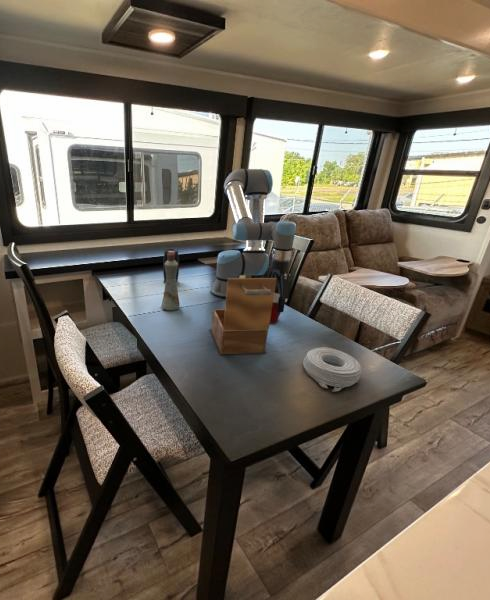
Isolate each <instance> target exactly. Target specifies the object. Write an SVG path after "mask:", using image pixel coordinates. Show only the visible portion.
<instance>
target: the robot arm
mask: <svg viewBox="0 0 490 600" xmlns="http://www.w3.org/2000/svg"><path fill="white" fill-rule="evenodd" d="M273 186H274V179H273V175H272V173H271V171H270V170H268V169H263V168H237V169H235V170H233V171H232V172H230V173H229V174H228V176H227V177H226V178H225V180H224V184H223V190H224V195H225V196H226V197H227V198H228V201H229V205H230V208H231V212H232V215H233V219H234V224H233V226H232V238H233V240H235V241H242V242H243V241H245V247H244V248H243V249H242V253H241V251H240V250H237V249H226V250H224V251H221V252H218V255H217V259H216V274H215V275H216V276H215V280H214V283H213V285H212V288H211V294H212V295H213V296H215V297H218V298H222V299H226V293H227V282H228V278H240V276H253V277H257V276H263V275H265V274H266V272H267V271H268V268H269V271H268V273H267V276H266V278H276V284H277V287H278V294H279V295H280V297H278V298H279V299H278V305H277V311H276V312H281V313H284V310H285V305H286V302H285V299H287V300H289V299H290V291H289V290H290V289H289V274H286V271H288V270H289V269H290V264H291V261H290V260H291V259H292V254H293V246H294V240H295V235H296V227H297V225H296V223H295V222H294V221H290V220H279V221H269V222H264V221H265V200H266V199H267V198H268V197H269V194H271V193H272V191H273ZM264 241H271V242H273V245H272V251H271V260H270V258H269V257H270V256H269V254H268V253H266V249H265V248H264V246H263V244H264V243H263V242H264ZM269 265H270V266H269Z"/></svg>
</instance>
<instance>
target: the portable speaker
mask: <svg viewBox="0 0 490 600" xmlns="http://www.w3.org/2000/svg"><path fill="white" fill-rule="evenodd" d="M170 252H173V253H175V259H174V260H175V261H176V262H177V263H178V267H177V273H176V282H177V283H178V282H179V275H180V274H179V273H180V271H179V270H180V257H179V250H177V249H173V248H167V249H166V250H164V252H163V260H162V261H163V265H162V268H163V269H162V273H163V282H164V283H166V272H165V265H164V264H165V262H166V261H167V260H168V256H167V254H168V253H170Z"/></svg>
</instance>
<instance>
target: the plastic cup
mask: <svg viewBox="0 0 490 600" xmlns="http://www.w3.org/2000/svg"><path fill="white" fill-rule="evenodd" d="M278 297H280V295H279V293H277V292H274V298H273V304H272V310H271V317H270V323H269V324H276V323H278V320H279V317H280V315H281V313H282V312H276V311H277V305H278V299H279V298H278ZM287 302H288V299H285V303H287Z"/></svg>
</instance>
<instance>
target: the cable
mask: <svg viewBox="0 0 490 600" xmlns="http://www.w3.org/2000/svg"><path fill="white" fill-rule="evenodd" d="M302 365H303V368H304V369H305V372H306V373H307V374H308V375H309V376H310V377H311V378H312V379H313V380H314V381H315V382H317V383H318V385H319V386H320V387H321V388H322V389H326V390H327V389H329V388H328V386H330V387H333V389H331V392H332V393H337V392H339V391H341V390H342V389H344V388H348V387H351V386H353V385H355V384H357V383H358V382H359V380H360V377H361V375H362V366H361V364H360V363H359V361H358V360H357V359H356V358H354V357H353V356H351V355H350V354H348V353H347V352H344V351H341V350H339V349H334V348H332V347H316V348H312V349H311V350H309V351H308V352H307V353H306V355H305V356H304V358H303V360H302Z"/></svg>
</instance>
